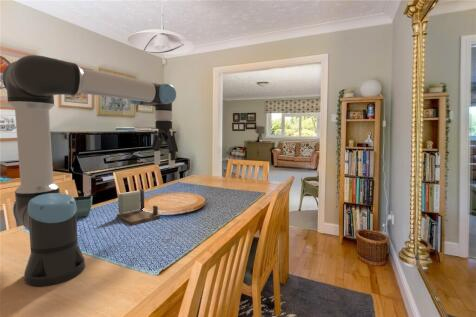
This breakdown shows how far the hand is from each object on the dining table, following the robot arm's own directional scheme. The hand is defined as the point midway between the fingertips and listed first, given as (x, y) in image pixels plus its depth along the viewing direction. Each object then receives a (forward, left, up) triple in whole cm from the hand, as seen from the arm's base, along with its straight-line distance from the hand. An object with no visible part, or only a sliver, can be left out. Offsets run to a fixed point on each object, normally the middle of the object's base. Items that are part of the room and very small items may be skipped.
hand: (164, 165), depth 124 cm
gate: (-8, +20, -25) cm, 33 cm away
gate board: (-6, +14, -27) cm, 31 cm away
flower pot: (-25, +36, -27) cm, 52 cm away
